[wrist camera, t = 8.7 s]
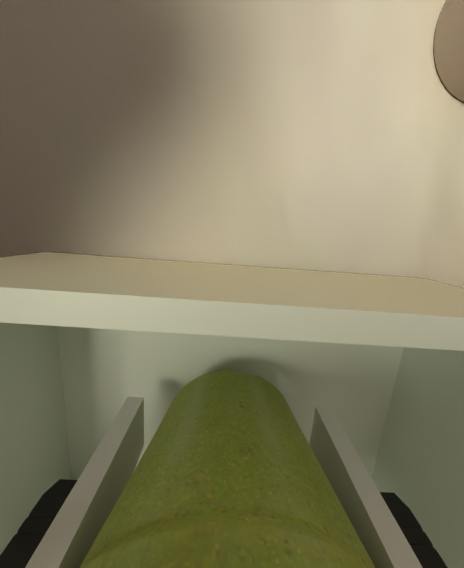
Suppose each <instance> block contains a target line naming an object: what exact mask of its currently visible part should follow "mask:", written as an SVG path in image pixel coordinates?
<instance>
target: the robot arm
mask: <svg viewBox="0 0 464 568" xmlns="http://www.w3.org/2000/svg"><path fill="white" fill-rule="evenodd" d="M309 445H310V447H311V449H312V451H313V453H314V455H315V456H316V458H317V460H318V462H319V464H320V466H321V468H322V469H323V471H324V473H325V475H326V477H327V479H328V480H329V482H330V484H331V486H332V488H333V490H334V492H335V494H336V495H337V497H338V499H339V501H340V503H341V505H342V507H343V509H344V511H345V513H346V514H347V516H348V518H349V520H350V522H351V524H352V525H353V527H354V529H355V531H356V533H357V535H358V536H359V538H360V540H361V542H362V544H363V546H364V548H365V549H366V551H367V553H368V555H369V557H370V559H371V560H372V562H373V564H374V566H375V567H376V568H448V567H447V566H446V564H445V563H444V561H443V559H442V558H441V556H440V555H439V553H438V552H437V550H436V549H434V547H433V544H432V542H431V541H430V539H429V538H428V536H427V535H426V533H425V532H423V530H422V527H421V525H420V524H419V522H418V521H417V519H416V518H415V516H414V515H413V513H412V511H411V510H410V508H409V507H408V506H407V505H406V504H405V503H404V502H403V501H402V500H401V499H400V498H399V497H398V496H397V495H396V494H395V493H391V492H379V490H378V489H377V487H376V485H375V483H374V482H373V480H372V478H371V476H370V475H369V473H368V471H367V469H366V468H365V466H364V464H363V462H362V461H361V459H360V457H359V455H358V454H357V452H356V450H355V448H354V447H353V445H352V443H351V441H350V440H349V438H348V436H347V434H346V433H345V431H344V429H343V427H342V426H341V424H340V422H339V420H338V419H337V417H336V415H335V413H334V412H333V410H332V408H331V407H316V408H315V413H314V419H313V425H312V431H311V437H310V443H309ZM143 447H144V397H127V399H126V400H125V402H124V404H123V405H122V407H121V409H120V410H119V412H118V414H117V415H116V417H115V419H114V420H113V422H112V424H111V425H110V427H109V429H108V430H107V432H106V434H105V435H104V437H103V439H102V440H101V442H100V444H99V445H98V447H97V449H96V450H95V452H94V454H93V455H92V457H91V459H90V460H89V462H88V464H87V465H86V467H85V469H84V470H83V472H82V474H81V475H80V477H79V479H78V480H67V479H59V480H58V481H57V482H56V483H55V484H54V485H53V486H52V487H51V488H49V489H48V490H47V491H46V492H45V493H44V494H43V495H42V496H41V498H40V499H39V501H38V502H37V503H36V505H35V506H34V508H33V509H32V511H31V512H30V513H29V516H28V518H26V519H25V521H24V522H23V523H22V525H21V526H20V528H19V529H18V532H17V534H16V535H14V536H13V538H12V539H11V541H10V542H9V544H8V545H7V546H6V548H5V549H4V551H3V552H2V554H1V555H0V568H79V567H80V566H81V564H82V562H83V560H84V559H85V557H86V555H87V553H88V551H89V550H90V548H91V546H92V544H93V543H94V541H95V539H96V537H97V535H98V534H99V532H100V530H101V528H102V527H103V525H104V523H105V522H106V520H107V518H108V516H109V515H110V513H111V511H112V509H113V508H114V506H115V504H116V502H117V500H118V499H119V497H120V495H121V493H122V492H123V490H124V488H125V486H126V484H127V483H128V481H129V479H130V477H131V476H132V474H133V472H134V470H135V467H136V465H137V462H138V459H139V457H140V454H141V452H142V449H143Z"/></svg>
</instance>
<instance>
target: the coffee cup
mask: <svg viewBox="0 0 464 568" xmlns="http://www.w3.org/2000/svg"><path fill="white" fill-rule="evenodd" d="M434 57H435V64H436V68H437V71H438V74H439V76H440V78H441V81H442V82H443V84H444V86H445V87H446V88H447V90H448V91H449V92H450V93H451V94H452V95H454V96H455V97H456V98H457V99H459V100H461V101H463V102H464V0H446V2H445V4H444V6H443V8H442V11H441V13H440V16H439V19H438V22H437V26H436V31H435V38H434Z"/></svg>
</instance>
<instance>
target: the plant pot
mask: <svg viewBox="0 0 464 568" xmlns="http://www.w3.org/2000/svg"><path fill="white" fill-rule="evenodd" d="M79 568H376V567H375V566H374V564H373V562H372V560H371V559H370V557H369V555H368V553H367V551H366V549H365V548H364V546H363V544H362V542H361V540H360V538H359V536H358V535H357V533H356V531H355V529H354V527H353V525H352V524H351V522H350V520H349V518H348V516H347V514H346V513H345V511H344V509H343V507H342V505H341V503H340V501H339V499H338V497H337V495H336V494H335V492H334V490H333V488H332V486H331V484H330V482H329V480H328V479H327V477H326V475H325V473H324V471H323V469H322V468H321V466H320V464H319V462H318V460H317V458H316V456H315V455H314V453H313V451H312V449H311V447H310V445H309V443H308V442H307V440H306V438H305V436H304V434H303V432H302V430H301V429H300V427H299V425H298V423H297V421H296V419H295V417H294V415H293V413H292V411H291V410H290V408H289V406H288V404H287V402H286V400H285V398H284V396H283V395H282V394H281V392H280V391H279V390H278V389H277V388H276V387H275V386H274V385H273V384H271V383H270V382H269V381H267V380H265V379H264V378H262V377H260V376H256V375H248V374H242V373H237V372H233V371H230V370H220V371H214V372H210V373H207V374H204V375H202V376H199V377H197V378H195V379H194V380H192V381H191V382H189V383H188V384H187V385H186V386H185V387H183V388H182V389H181V390H180V391H179V393H178V394H177V395H176V397H175V398H174V400H173V401H172V403H171V405H170V407H169V409H168V410H167V412H166V414H165V416H164V418H163V420H162V422H161V423H160V425H159V427H158V429H157V431H156V433H155V434H154V436H153V438H152V440H151V442H150V443H149V445H148V447H147V449H146V451H145V452H144V454H143V456H142V458H141V460H140V461H139V463H138V465H137V467H136V468H135V470H134V472H133V474H132V476H131V477H130V479H129V481H128V483H127V484H126V486H125V488H124V490H123V492H122V493H121V495H120V497H119V499H118V500H117V502H116V504H115V506H114V508H113V509H112V511H111V513H110V515H109V516H108V518H107V520H106V522H105V523H104V525H103V527H102V528H101V530H100V532H99V534H98V535H97V537H96V539H95V541H94V543H93V544H92V546H91V548H90V550H89V551H88V553H87V555H86V557H85V559H84V560H83V562H82V564H81V566H80V567H79Z"/></svg>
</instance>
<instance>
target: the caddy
mask: <svg viewBox="0 0 464 568" xmlns="http://www.w3.org/2000/svg"><path fill="white" fill-rule="evenodd" d="M220 370H230V371H233V372H237V373H242V374H248V375H256V376H260V377H262V378H264V379H265V380H267V381H269V382H270V383H271V384H273V385H274V386H275V387H276V388H277V389H278V390H279V391H280V392H281V394H282V395H283V396H284V398H285V400H286V402H287V404H288V406H289V408H290V410H291V411H292V413H293V415H294V417H295V419H296V421H297V423H298V425H299V427H300V429H301V430H302V432H303V434H304V436H305V438H306V440H307V442H308V443H310V437H311V431H312V425H313V419H314V413H315V408H316V407H331V408H332V410H333V412H334V413H335V415H336V417H337V419H338V420H339V422H340V424H341V426H342V427H343V429H344V431H345V433H346V434H347V436H348V438H349V440H350V441H351V443H352V445H353V447H354V448H355V450H356V452H357V454H358V455H359V457H360V459H361V461H362V462H363V464H364V466H365V468H366V469H367V471H368V473H369V475H370V476H371V478H372V480H373V482H374V483H375V485H376V487H377V489H378V490H379V492H391V493H395V494H396V495H397V496H398V497H399V498H400V499H401V500H402V501H403V502H404V503H405V504H406V505H407V506H408V507H409V508H410V510H411V511H412V513H413V515H414V516H415V518H416V519H417V521H418V522H419V524H420V525H421V527H422V530H423V532H425V533H426V535H427V536H428V538H429V539H430V541H431V542H432V544H433V547H434V549H436V550H437V552H438V553H439V555H440V556H441V558H442V559H443V561H444V563H445V564H446V566H447V567H448V568H464V288H460V287H456V286H452V285H449V284H445V283H441V282H437V281H433V280H429V279H425V278H412V277H398V276H384V275H369V274H355V273H340V272H326V271H312V270H297V269H283V268H268V267H254V266H240V265H225V264H211V263H196V262H182V261H168V260H153V259H139V258H124V257H110V256H96V255H81V254H67V253H52V252H41V253H33V254H25V255H17V256H9V257H1V258H0V555H1V554H2V552H3V551H4V549H5V548H6V546H7V545H8V544H9V542H10V541H11V539H12V538H13V536H14V535H16V534H17V532H18V529H19V528H20V526H21V525H22V523H23V522H24V521H25V519H26V518H28V516H29V513H30V512H31V511H32V509H33V508H34V506H35V505H36V503H37V502H38V501H39V499H40V498H41V496H42V495H43V494H44V493H45V492H46V491H47V490H48V489H49V488H51V487H52V486H53V485H54V484H55V483H56V482H57V481H58V480H59V479H67V480H78V479H79V477H80V475H81V474H82V472H83V470H84V469H85V467H86V465H87V464H88V462H89V460H90V459H91V457H92V455H93V454H94V452H95V450H96V449H97V447H98V445H99V444H100V442H101V440H102V439H103V437H104V435H105V434H106V432H107V430H108V429H109V427H110V425H111V424H112V422H113V420H114V419H115V417H116V415H117V414H118V412H119V410H120V409H121V407H122V405H123V404H124V402H125V400H126V399H127V397H144V447H143V449H142V452H141V454H140V457H139V459H138V462H137V465H138V463H139V461H140V460H141V458H142V456H143V454H144V452H145V451H146V449H147V447H148V445H149V443H150V442H151V440H152V438H153V436H154V434H155V433H156V431H157V429H158V427H159V425H160V423H161V422H162V420H163V418H164V416H165V414H166V412H167V410H168V409H169V407H170V405H171V403H172V401H173V400H174V398H175V397H176V395H177V394H178V393H179V391H180V390H181V389H182V388H183V387H185V386H186V385H187V384H188V383H189V382H191V381H192V380H194V379H195V378H197V377H199V376H202V375H204V374H207V373H210V372H214V371H220ZM137 465H136V467H137ZM136 467H135V468H136Z"/></svg>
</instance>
